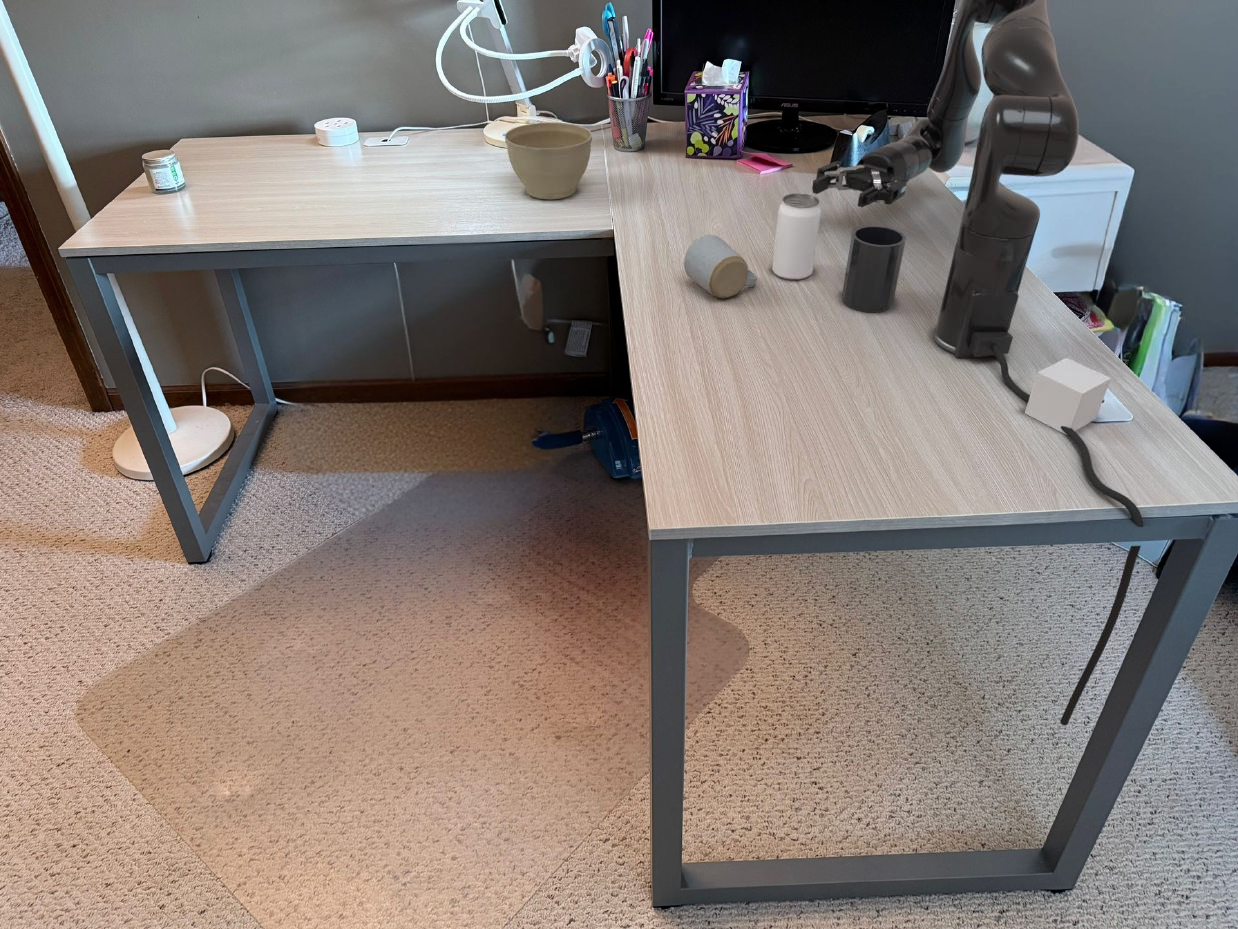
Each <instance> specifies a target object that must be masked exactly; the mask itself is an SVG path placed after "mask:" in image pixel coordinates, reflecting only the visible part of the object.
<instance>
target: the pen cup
mask: <svg viewBox="0 0 1238 929" xmlns="http://www.w3.org/2000/svg"><path fill="white" fill-rule="evenodd" d="M850 236H851V237H850V242H849V248H848V255H847V261H846V266H845V267H846V268H845V273H844V280H843V285H842V291H841V301H842V303H843V304H844V305H845V306H846V307H848V308H849V309H852V310H854V311H858V312H862V313H869V314H874V313H883V312H885V311H888V310H890V309H891V308H892V307H893V305H894V300H895V296H896V292H897V285H898V281H899V275H900V270H901V265H902V262H903V261H902V260H903V257H904V256H903V255H904V252H905V245H906V242H907V241H906V240H907V237H906V235H905V234H904V232H902V231H900V230H898V229H896V228H893V227H889V226H883V225H864V226H859V227H857V228H855V229H853V230H852V233H851V235H850Z"/></svg>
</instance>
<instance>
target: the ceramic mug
mask: <svg viewBox="0 0 1238 929" xmlns="http://www.w3.org/2000/svg"><path fill="white" fill-rule="evenodd" d="M683 269H684V272H685V274H686V275H687V277H688V278H689V279H690V280H692V281H693V282H694V283H695V284H697V285H698V286H700V287H701V288H702V289H703V290H705V291H706V292H707V293H708V294H710V295H711V296H714V297H716V298H718V299H728V298H731V297H733V296H735V295H737V294H738V293H739V292H740V291H741V290H742V289H743V288H744V287H748V288H752V287H754V286H755V284H756V282H757V280H758V277H757V276H758V275H756V274H755V273H754V272H752V271H751V270H749V267H748V264H747V261H746V260H745V259H744V258H743V256H742V255H741V254H740V253H739V252H738V251H736V250H735V249H734V248H733V247H732V246H730V245H729V244H728V243H727V242H726V241H725V240H723V239H722V238H721V237H719V236H717V235H715V234H705V235H702V236H700V237H699V238H697V239H695V240H694V241H693V242H692V243H691V244H690V246H689V247H688V249H687V250H686V252H685V255H684V259H683Z"/></svg>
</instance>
